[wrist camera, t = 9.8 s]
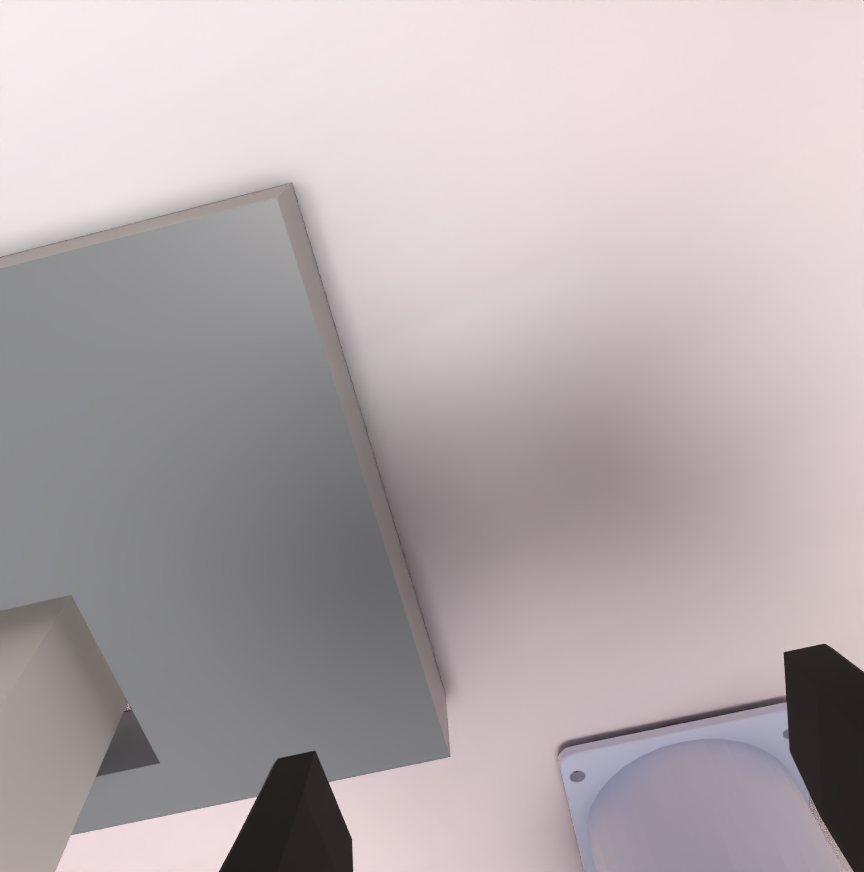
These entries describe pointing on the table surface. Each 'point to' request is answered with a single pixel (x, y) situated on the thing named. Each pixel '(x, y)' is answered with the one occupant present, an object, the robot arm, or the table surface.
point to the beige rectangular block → (49, 728)
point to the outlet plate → (208, 507)
